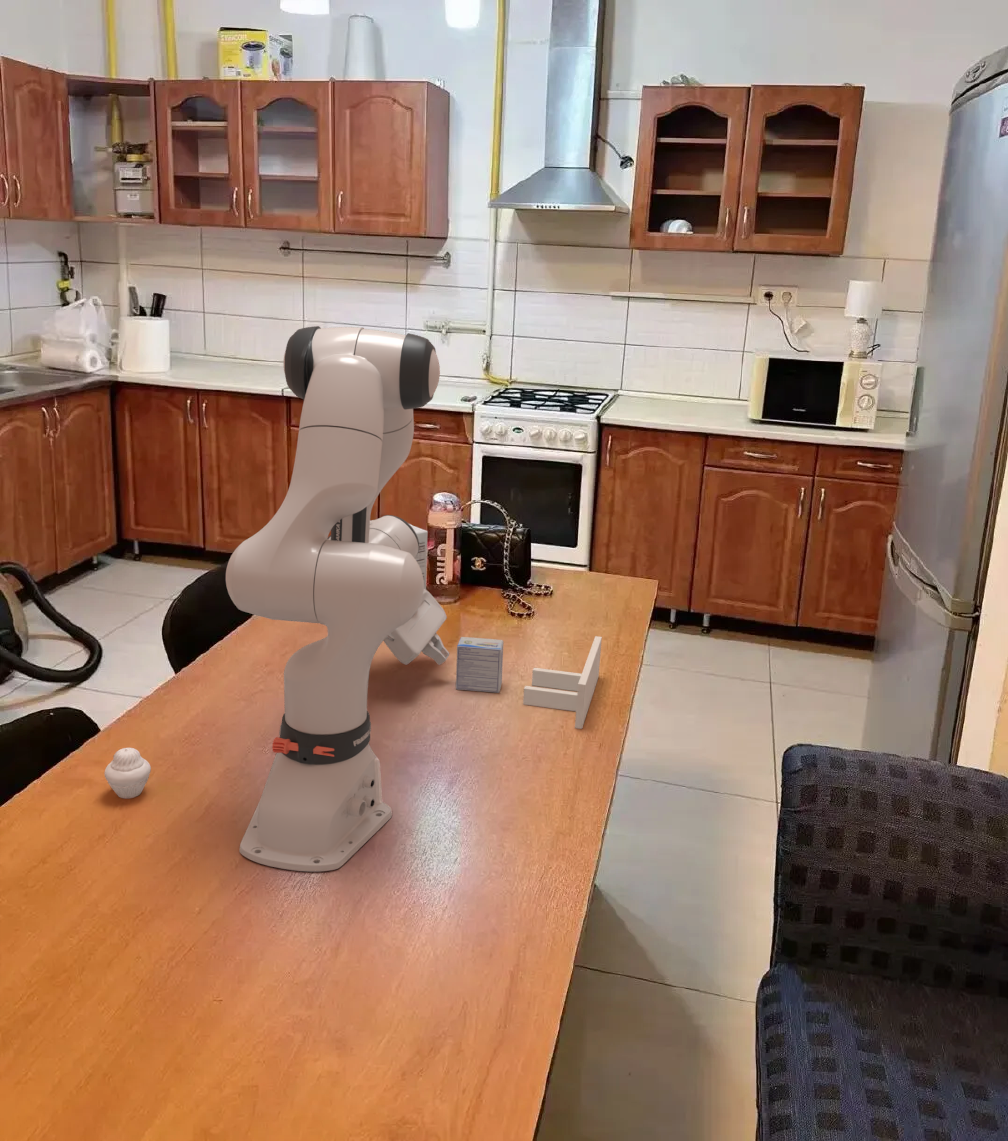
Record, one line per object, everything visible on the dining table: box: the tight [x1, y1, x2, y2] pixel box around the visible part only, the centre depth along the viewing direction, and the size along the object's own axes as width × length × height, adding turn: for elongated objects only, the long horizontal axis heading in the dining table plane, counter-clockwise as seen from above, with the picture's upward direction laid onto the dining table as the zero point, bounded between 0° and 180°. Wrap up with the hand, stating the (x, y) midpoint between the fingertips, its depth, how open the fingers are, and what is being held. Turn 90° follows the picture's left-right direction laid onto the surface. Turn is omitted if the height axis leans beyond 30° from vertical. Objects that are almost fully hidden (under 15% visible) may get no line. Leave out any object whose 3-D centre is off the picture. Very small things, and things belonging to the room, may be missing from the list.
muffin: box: [104, 747, 152, 800], centre depth 147 cm, size 6×6×7 cm
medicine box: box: [455, 636, 504, 694], centre depth 186 cm, size 8×4×9 cm, turn 84°
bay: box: [522, 635, 603, 730], centre depth 184 cm, size 22×11×8 cm, turn 168°
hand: (445, 659), depth 188 cm, fingers closed
